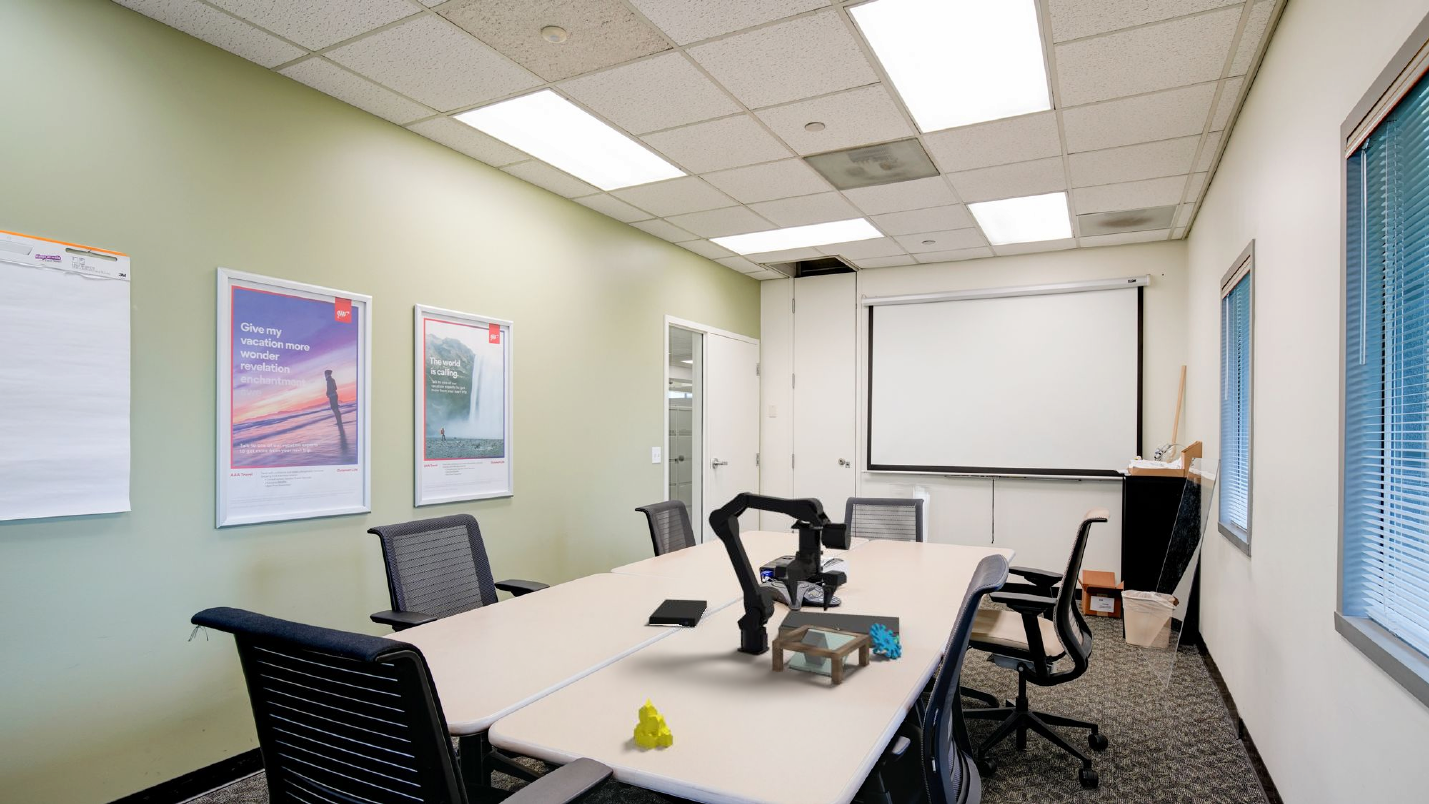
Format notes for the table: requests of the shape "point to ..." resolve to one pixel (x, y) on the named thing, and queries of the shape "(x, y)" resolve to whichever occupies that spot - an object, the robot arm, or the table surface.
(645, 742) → the yellow lumpy pyramid
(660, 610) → the external hard drive
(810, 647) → the frame
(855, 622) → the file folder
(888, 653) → the gear
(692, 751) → the table surface
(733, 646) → the table surface
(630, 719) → the table surface
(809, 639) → the stone block
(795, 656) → the trapdoor
